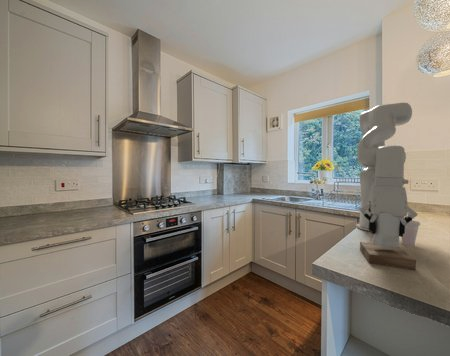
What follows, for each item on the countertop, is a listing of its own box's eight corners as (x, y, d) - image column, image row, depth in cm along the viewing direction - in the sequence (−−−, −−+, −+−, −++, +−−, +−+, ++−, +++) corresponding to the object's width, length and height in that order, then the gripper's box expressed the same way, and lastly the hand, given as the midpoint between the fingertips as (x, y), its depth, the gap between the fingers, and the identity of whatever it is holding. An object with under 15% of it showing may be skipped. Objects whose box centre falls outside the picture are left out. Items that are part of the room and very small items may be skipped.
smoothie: (408, 241, 87) (410, 209, 86) (423, 247, 81) (425, 212, 80) (393, 241, 87) (395, 209, 86) (407, 247, 81) (409, 212, 80)
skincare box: (389, 243, 72) (390, 209, 72) (399, 248, 68) (401, 212, 67) (371, 243, 73) (373, 209, 72) (381, 248, 68) (382, 212, 67)
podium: (359, 249, 78) (360, 241, 78) (398, 254, 74) (399, 246, 74) (369, 263, 67) (369, 254, 67) (415, 270, 63) (416, 260, 62)
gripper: (415, 182, 69) (412, 234, 70) (355, 181, 76) (354, 228, 77) (427, 184, 62) (424, 241, 63) (361, 182, 69) (359, 234, 70)
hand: (385, 233), depth 70 cm, fingers closed on skincare box, 7 cm apart
